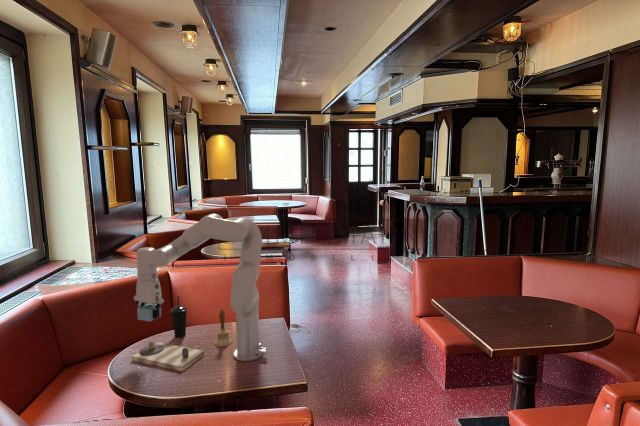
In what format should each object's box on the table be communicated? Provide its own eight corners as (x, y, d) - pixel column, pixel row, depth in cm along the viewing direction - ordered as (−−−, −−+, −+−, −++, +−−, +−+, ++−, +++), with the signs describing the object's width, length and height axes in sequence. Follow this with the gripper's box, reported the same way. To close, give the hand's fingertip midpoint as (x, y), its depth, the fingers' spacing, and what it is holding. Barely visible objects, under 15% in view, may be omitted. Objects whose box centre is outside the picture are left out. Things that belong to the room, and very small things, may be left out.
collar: (161, 315, 164) (160, 304, 163) (149, 321, 158) (149, 310, 157) (149, 313, 166) (148, 303, 166) (137, 319, 160) (137, 308, 159)
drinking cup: (168, 337, 180) (166, 297, 178) (180, 331, 187) (178, 292, 185) (179, 340, 177) (177, 300, 175) (191, 334, 184) (190, 295, 181)
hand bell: (229, 346, 171) (228, 313, 169) (211, 346, 171) (210, 313, 169) (234, 338, 179) (233, 306, 177) (217, 338, 179) (215, 306, 177)
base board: (204, 355, 163) (203, 342, 162) (182, 371, 150) (181, 357, 149) (155, 345, 172) (154, 333, 172) (130, 360, 159) (129, 346, 158)
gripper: (170, 276, 160) (171, 316, 163) (138, 272, 166) (140, 310, 168) (157, 280, 153) (159, 322, 156) (124, 276, 159) (127, 317, 161)
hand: (149, 316), depth 162 cm, fingers closed on collar, 6 cm apart
